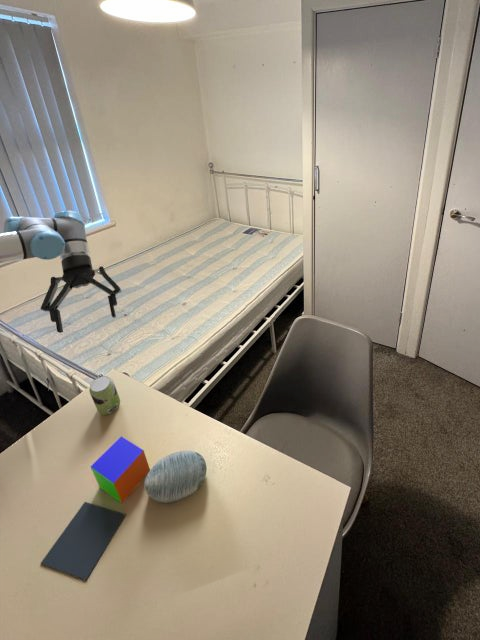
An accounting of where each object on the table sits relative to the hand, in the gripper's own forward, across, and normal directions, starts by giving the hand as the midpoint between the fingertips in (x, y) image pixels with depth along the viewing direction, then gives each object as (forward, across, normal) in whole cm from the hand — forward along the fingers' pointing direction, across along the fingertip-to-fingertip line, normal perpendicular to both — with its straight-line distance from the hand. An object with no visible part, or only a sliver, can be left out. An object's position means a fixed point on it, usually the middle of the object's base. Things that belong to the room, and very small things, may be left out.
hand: (87, 324), depth 94 cm
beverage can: (+25, 0, -10) cm, 27 cm away
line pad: (+48, +5, +13) cm, 50 cm away
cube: (+42, -3, +6) cm, 42 cm away
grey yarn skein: (+48, -14, +12) cm, 51 cm away
